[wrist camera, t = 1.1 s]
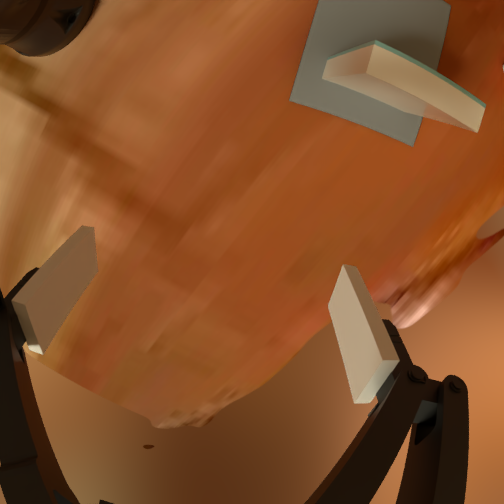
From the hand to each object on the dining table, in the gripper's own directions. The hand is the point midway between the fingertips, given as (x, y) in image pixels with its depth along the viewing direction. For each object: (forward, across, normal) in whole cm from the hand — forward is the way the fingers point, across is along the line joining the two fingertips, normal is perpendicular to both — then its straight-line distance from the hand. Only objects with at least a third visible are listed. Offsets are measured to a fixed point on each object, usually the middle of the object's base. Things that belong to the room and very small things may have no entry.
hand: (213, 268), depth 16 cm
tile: (+26, +14, +13) cm, 32 cm away
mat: (+26, +15, +20) cm, 36 cm away
